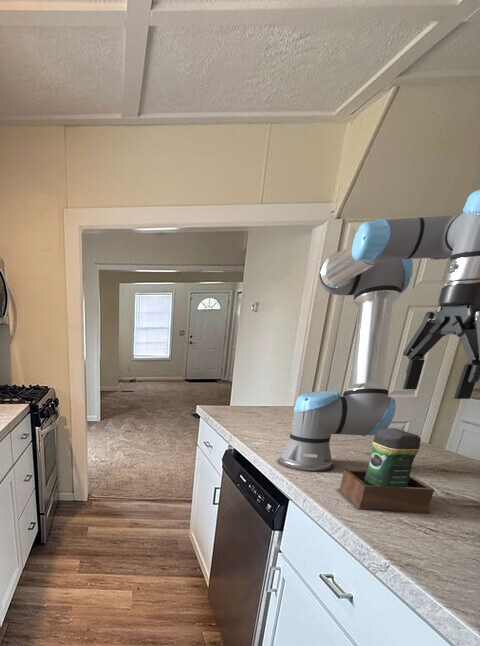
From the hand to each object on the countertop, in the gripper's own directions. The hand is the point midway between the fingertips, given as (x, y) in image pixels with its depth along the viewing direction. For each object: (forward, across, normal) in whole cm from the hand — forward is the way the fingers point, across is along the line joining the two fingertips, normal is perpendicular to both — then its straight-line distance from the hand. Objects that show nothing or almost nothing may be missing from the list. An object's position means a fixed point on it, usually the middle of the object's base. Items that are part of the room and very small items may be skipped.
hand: (433, 393), depth 87 cm
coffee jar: (+28, -7, 0) cm, 29 cm away
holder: (+28, -7, 0) cm, 29 cm away
